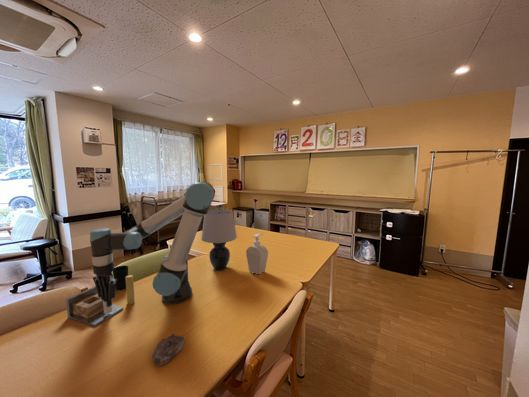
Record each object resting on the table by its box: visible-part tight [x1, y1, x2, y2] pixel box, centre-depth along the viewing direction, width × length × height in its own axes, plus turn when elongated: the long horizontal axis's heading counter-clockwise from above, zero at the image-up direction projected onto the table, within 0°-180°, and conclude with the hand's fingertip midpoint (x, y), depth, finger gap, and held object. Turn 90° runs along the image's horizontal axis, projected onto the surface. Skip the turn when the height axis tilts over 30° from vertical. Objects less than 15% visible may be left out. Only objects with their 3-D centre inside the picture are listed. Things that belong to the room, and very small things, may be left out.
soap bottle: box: [245, 233, 269, 275], centre depth 148 cm, size 12×10×26 cm
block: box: [73, 293, 104, 319], centre depth 104 cm, size 10×10×5 cm
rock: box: [152, 333, 186, 367], centre depth 81 cm, size 8×11×5 cm
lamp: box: [200, 209, 238, 272], centre depth 152 cm, size 24×24×40 cm
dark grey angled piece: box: [65, 285, 124, 328], centre depth 103 cm, size 18×13×9 cm
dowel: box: [125, 274, 136, 305], centre depth 112 cm, size 3×3×14 cm
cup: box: [112, 265, 129, 291], centre depth 126 cm, size 8×8×12 cm
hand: (108, 312), depth 101 cm, fingers closed
